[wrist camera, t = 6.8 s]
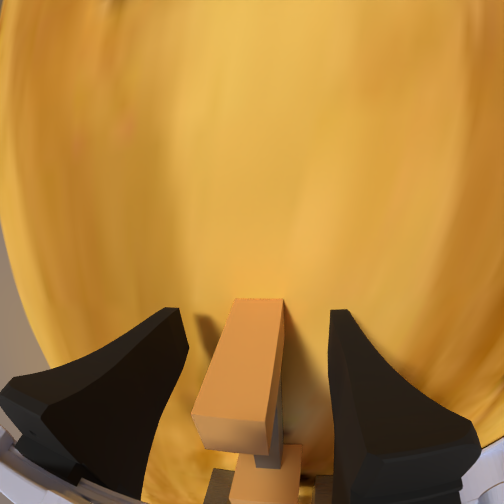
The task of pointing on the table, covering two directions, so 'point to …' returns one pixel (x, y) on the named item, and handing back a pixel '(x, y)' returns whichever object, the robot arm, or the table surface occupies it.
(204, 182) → the table surface
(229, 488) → the housing
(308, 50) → the table surface
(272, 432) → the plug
